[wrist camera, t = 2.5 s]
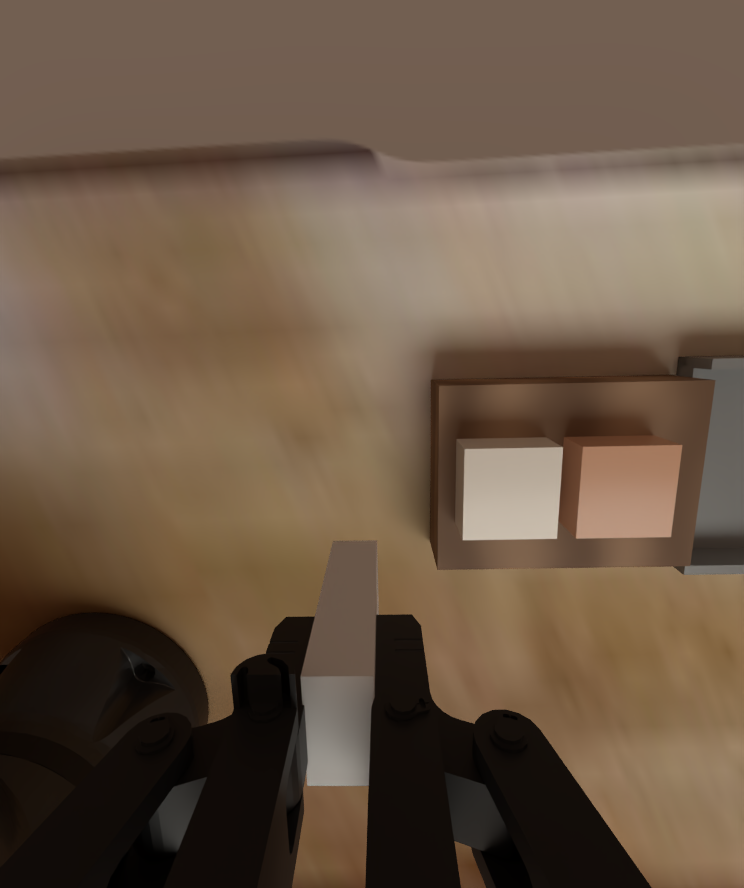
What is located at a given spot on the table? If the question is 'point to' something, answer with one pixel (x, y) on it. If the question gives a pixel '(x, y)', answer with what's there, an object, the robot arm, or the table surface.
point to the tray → (720, 469)
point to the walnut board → (557, 416)
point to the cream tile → (507, 488)
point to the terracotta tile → (619, 486)
